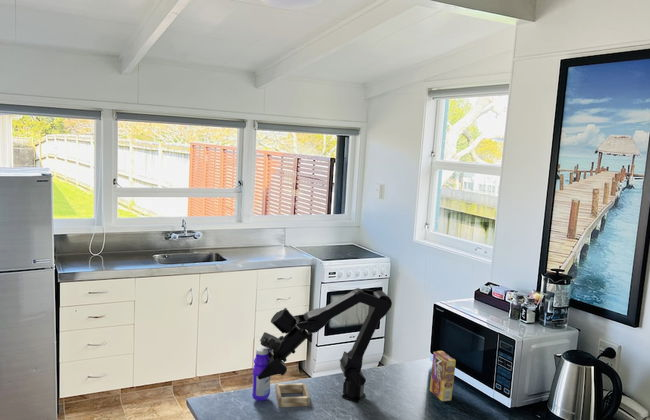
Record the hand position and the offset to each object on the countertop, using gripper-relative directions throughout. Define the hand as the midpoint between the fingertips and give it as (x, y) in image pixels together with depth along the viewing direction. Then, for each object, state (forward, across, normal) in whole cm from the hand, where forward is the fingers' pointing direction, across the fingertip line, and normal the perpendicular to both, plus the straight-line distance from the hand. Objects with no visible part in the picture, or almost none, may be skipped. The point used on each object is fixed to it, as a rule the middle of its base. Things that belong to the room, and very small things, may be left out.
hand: (257, 373), depth 188 cm
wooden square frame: (-2, 0, +16) cm, 16 cm away
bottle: (+5, 0, +7) cm, 9 cm away
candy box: (-39, +2, +54) cm, 67 cm away
